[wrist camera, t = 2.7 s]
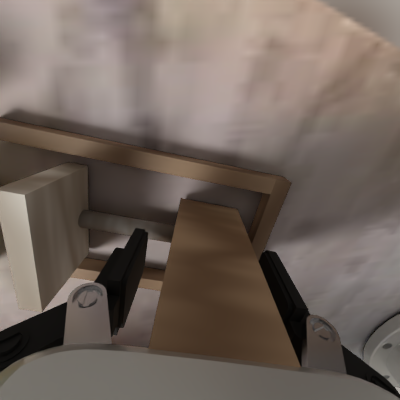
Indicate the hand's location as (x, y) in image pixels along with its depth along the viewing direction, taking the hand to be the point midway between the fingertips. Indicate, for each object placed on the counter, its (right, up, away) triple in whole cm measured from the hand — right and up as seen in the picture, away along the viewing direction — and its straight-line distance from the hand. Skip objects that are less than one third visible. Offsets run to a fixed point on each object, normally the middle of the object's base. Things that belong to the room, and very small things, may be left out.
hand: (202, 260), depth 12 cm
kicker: (-4, +2, +2) cm, 5 cm away
